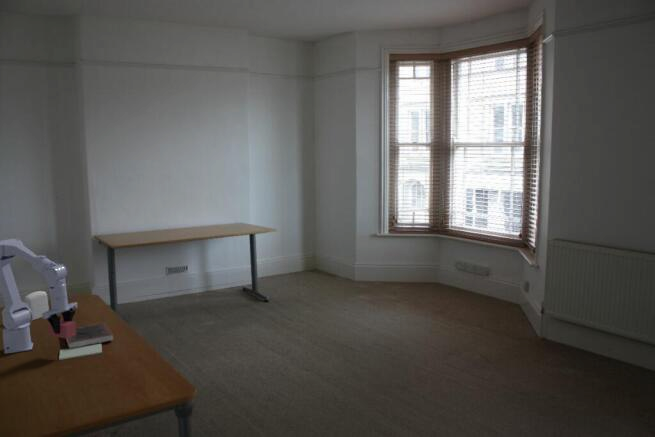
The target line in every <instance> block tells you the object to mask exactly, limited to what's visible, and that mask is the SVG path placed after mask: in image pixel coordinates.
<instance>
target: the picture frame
mask: <svg viewBox="0 0 655 437" xmlns="http://www.w3.org/2000/svg"><path fill="white" fill-rule="evenodd" d="M76 334H77V335H75V336H72V337H70V338H65V339H66V342H67V346H68V349H69V348H70V349H71V348H76V347H82V346H88V345H95V344H102V343H105V342H106V343H107V342H110V341H113V340H114V334H113V333H112V332H111V330H110V328H109V326H108V325H107V324H106V322H100V323H95V324H89V325H85V326H80V327H76Z"/></svg>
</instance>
